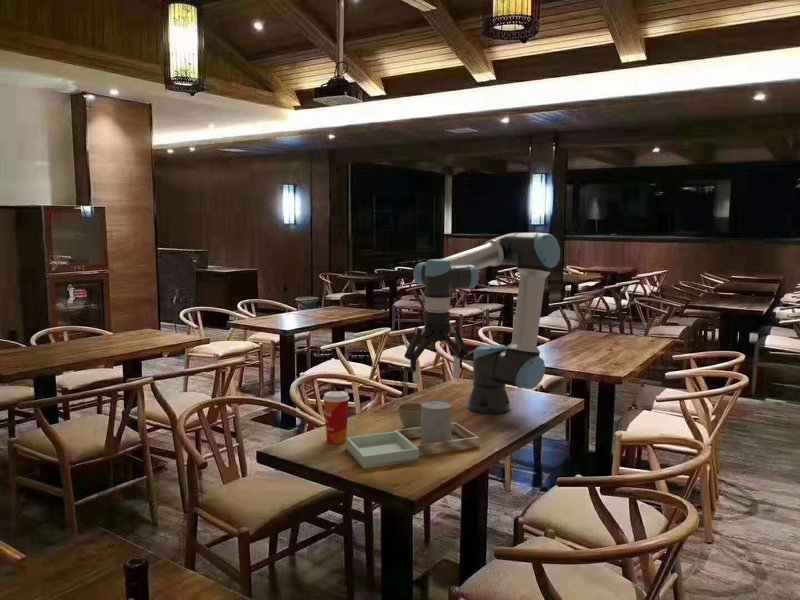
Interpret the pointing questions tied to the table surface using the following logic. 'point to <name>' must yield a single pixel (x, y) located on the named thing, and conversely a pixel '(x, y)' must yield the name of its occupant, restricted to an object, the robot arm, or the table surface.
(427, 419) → the speckled stone pillar
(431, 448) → the corral
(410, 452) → the bin
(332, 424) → the coffee cup
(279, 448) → the table surface
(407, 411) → the flower pot
